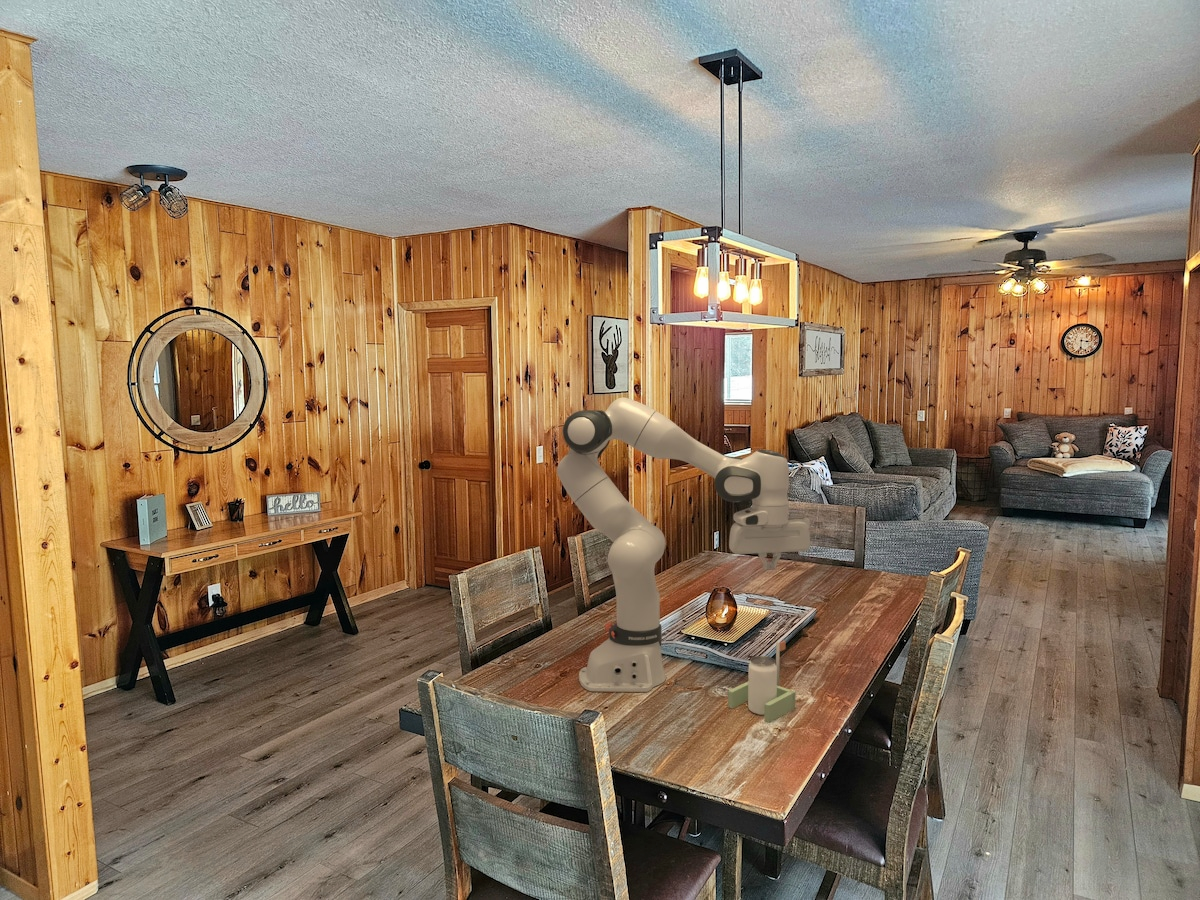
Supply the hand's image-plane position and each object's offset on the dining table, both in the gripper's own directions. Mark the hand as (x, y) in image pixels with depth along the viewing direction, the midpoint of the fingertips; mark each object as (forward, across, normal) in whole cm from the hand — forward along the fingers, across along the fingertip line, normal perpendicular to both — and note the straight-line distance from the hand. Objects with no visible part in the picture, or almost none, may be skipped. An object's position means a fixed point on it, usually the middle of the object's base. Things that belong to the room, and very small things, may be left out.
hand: (769, 569), depth 196 cm
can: (+29, +7, +16) cm, 34 cm away
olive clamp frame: (+29, +5, +13) cm, 32 cm away
